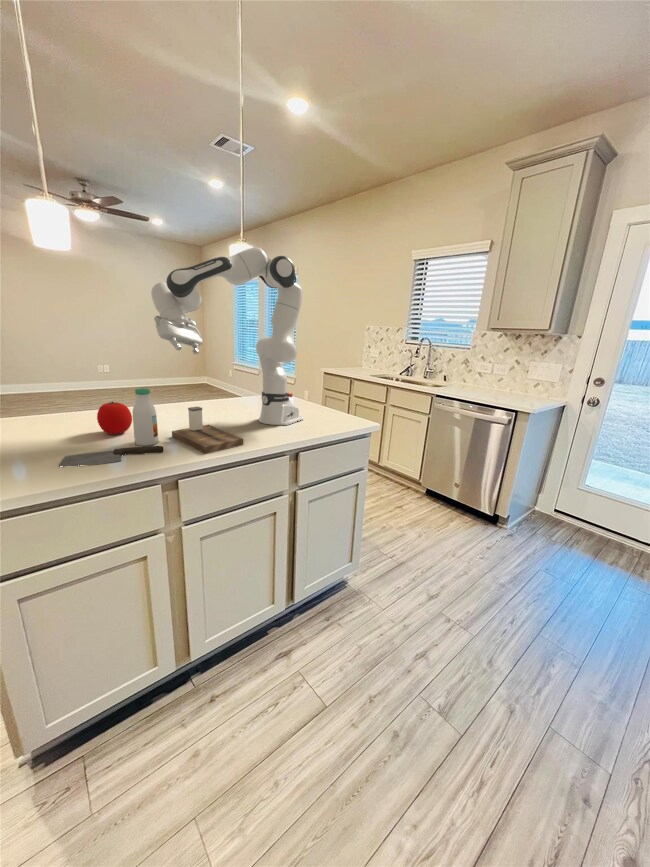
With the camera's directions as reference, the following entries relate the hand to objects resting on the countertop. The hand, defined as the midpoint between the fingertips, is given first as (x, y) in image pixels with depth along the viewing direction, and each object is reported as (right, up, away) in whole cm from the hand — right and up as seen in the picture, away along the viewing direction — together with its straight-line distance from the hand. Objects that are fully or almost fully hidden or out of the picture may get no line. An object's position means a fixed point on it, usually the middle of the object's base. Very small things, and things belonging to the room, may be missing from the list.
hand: (188, 351), depth 138 cm
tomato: (-28, -32, 0) cm, 43 cm away
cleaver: (-15, -40, -22) cm, 49 cm away
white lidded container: (+2, -30, +3) cm, 30 cm away
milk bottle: (-12, -36, -8) cm, 38 cm away
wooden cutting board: (+8, -35, -1) cm, 36 cm away
